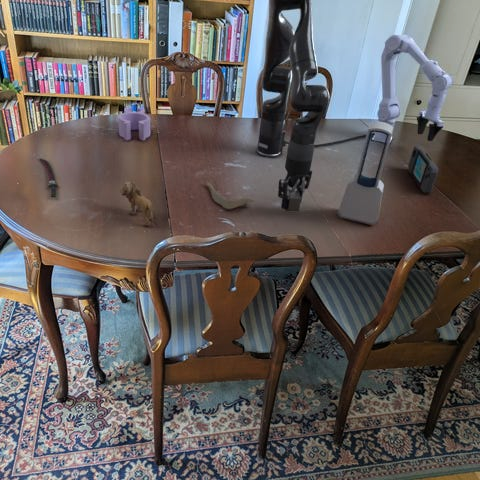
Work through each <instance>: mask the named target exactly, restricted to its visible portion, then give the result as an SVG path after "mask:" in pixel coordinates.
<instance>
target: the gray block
mask: <svg viewBox="0 0 480 480" xmlns="http://www.w3.org/2000/svg"><path fill="white" fill-rule="evenodd" d="M288 193H289V191H287V195H288ZM301 203H302V200H301V196H300V194H299V191H297V190H295V191H294V193H292V194H291V197H290V202H289V208H288V209H287V210H285V212H298V213H299V212H300V208H301Z"/></svg>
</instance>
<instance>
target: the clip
mask: <svg viewBox="0 0 480 480" xmlns="http://www.w3.org/2000/svg"><path fill="white" fill-rule="evenodd" d="M132 109H133V108H132V107H131V106H128V107H125V108H124V110H123V113H120V114H119V115H118V116H117V117H118V118H117V119H118V135H119V136H120V137H121V138H123V139H124V141H129V140H131V139H132V134H131V131H132V130H133V131H134V130H135V131H138V140H140V141H142V142H143V141H146V139H147V138H149V137H150V136H151V116H150V115H149V114H147V113H146V111H145V109H144V108H143V107H139V106H138V107H136V109H137V111H135V112H134V111H132Z"/></svg>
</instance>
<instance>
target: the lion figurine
mask: <svg viewBox="0 0 480 480" xmlns="http://www.w3.org/2000/svg"><path fill="white" fill-rule="evenodd" d="M119 193H120V194H121V196H122V197H124V196H125V198H126V199H127V200H128V202H129V203H130V207H131V211H130V212H129V213H130V215H135V214H136V211H137V212H141V214H142V216H143V218H144V219H145V223H144V225H145V227H149V226H150V221H152V223H153V225H155V226H159V222H156V221H155V219H154V217H153V216H154V215H153V204H152V202H151V200H150V199H148V198H146V197H145V196H144V195H143V194H142V192H141V190H140V187H138V185H136V184H135V183H133V182H132V181H125V182H124V186H122V188H121V189H119ZM136 207H137V208H136ZM148 214H149V216H148Z"/></svg>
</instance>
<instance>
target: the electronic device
mask: <svg viewBox="0 0 480 480" xmlns="http://www.w3.org/2000/svg"><path fill="white" fill-rule="evenodd" d="M375 132H380V133H383V134H385V135H387V136H386V140H385V143H384V144H383V148H382V150H381V151H382V152H381V155H380V159H379V162H378V166H377V169H376V172H375V177H368V176H365V175H363V174H362V173H363V171H364V166H365V162H366V158H367V154H368V150H369V147H370V142H371V140H372V136H373V135H372V133H375ZM393 132H394V128H393V126H391V125H390V124H387V123H385V122H378V121H370V123H369V125H368V128H367V130H366V134H367V135H366V134H365V135H366V137H365V140H364V143H363V147H362V152H361V156H360V160H359V164H358V167H357V171H356V174H354V175H352V176H350V177H349V179H348V182H347V185H346V188H345V190H344V194H343V196H342V198H341V202H340V204H339V207H338V210H337V215H338V217H339V218H340V219H345V220H349V221H353V222H357V223H361V224H366V225H370V226H374V225H376V224H377V223H378V222H379V216H380V211H381V204H382V199H383V193H384V187H385V184H384V183H383V181H382V180H381V179H380V178H381V176H382V172H383V168H384V165H385V161H386V158H387V154H388V150H389V146H390V144H389V143H391V142H390V140H391V137H393ZM369 134H370V135H369ZM388 136H389V137H388ZM387 140H388V141H387ZM391 141H392V140H391Z"/></svg>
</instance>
